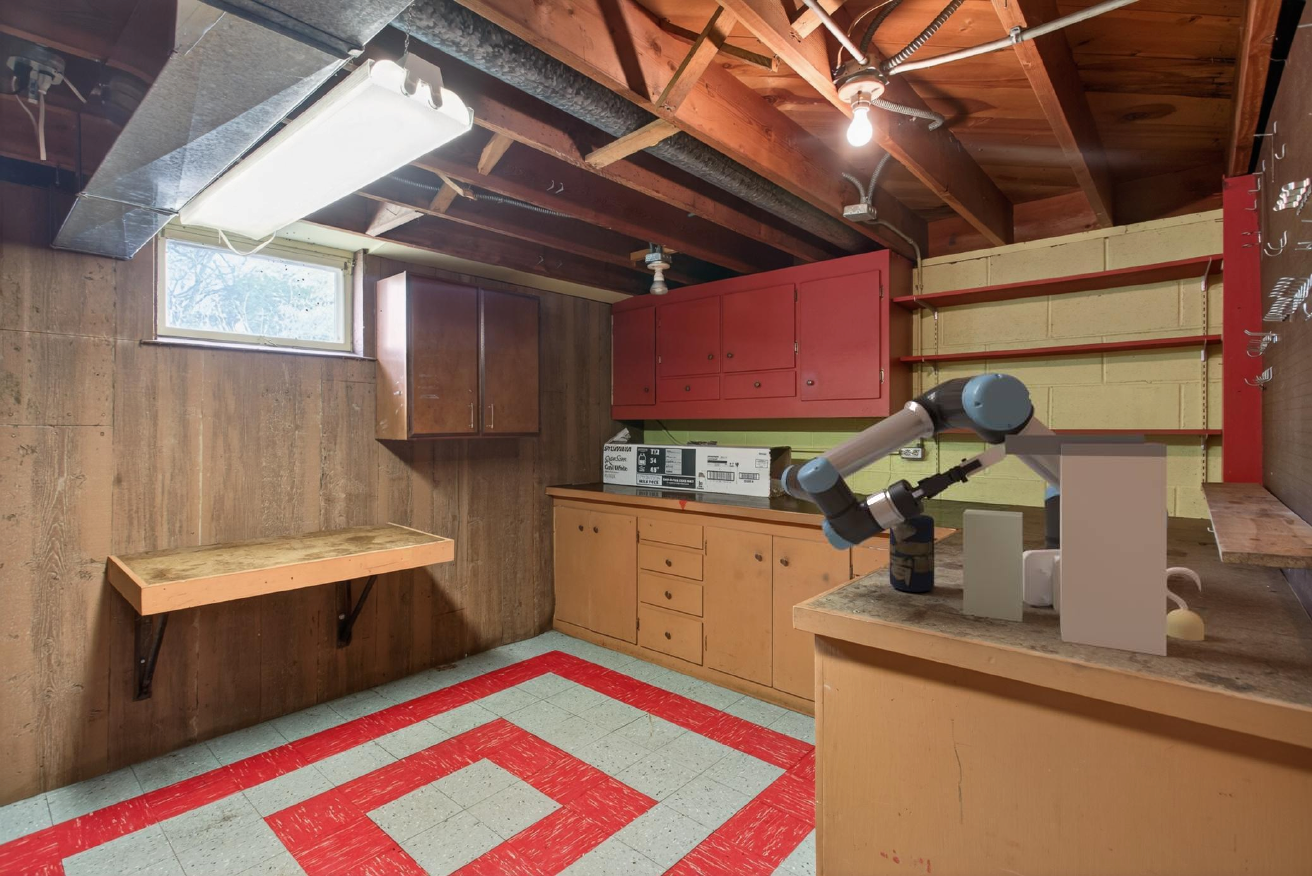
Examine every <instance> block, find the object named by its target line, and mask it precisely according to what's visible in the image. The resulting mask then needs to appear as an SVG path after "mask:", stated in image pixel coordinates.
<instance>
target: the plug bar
mask: <svg viewBox="0 0 1312 876" xmlns="http://www.w3.org/2000/svg"><path fill="white" fill-rule="evenodd" d="M1145 436H1146V435H1145V434H1056V435H1005V447H1004V449H1005V450H1004V452H1005V454H1006V455H1007V456H1008V455H1013V456H1015V455H1061V444H1145V443H1146V442H1145V441H1146V438H1145Z"/></svg>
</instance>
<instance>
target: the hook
mask: <svg viewBox="0 0 1312 876" xmlns="http://www.w3.org/2000/svg"><path fill="white" fill-rule="evenodd" d="M1173 574H1185V575H1187V576H1189V577H1190V578H1191V579H1192V580H1193V581H1194V582H1195V583H1196V585H1197V586H1198V589H1199V591H1200V592H1202V584H1201V583H1202V582H1201V580H1200V576H1199V575H1198V574H1197V573H1196V572H1195V571H1194V570H1192V569H1190V568H1187V567H1182V566H1181V567H1179V566H1177V567H1170V568H1167V579H1168V578H1169V577H1170V576H1171V575H1173ZM1166 598H1168V599H1170V600H1171V601H1174V602H1175V603H1176V604H1177V605H1178V606H1179V608H1178V609H1173V610H1172V611H1170V612H1169V613H1168V614H1166V636H1169V637H1171V638H1175V639H1180V640H1185V641H1192V642H1193V641H1194V642H1199V641H1204V640H1205V624H1204V621H1203V620H1202V618H1201V617H1200V616H1199V615H1198V614H1197V613H1195V612H1193V611H1191V610H1190V609H1189V606H1188V605H1187V603H1186V601H1185V600H1184V599H1183V598H1181V596H1179V595H1177V594H1175V593H1173V592H1172V591H1170V589H1169V588H1168V580H1167V581H1166Z"/></svg>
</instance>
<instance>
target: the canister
mask: <svg viewBox="0 0 1312 876" xmlns="http://www.w3.org/2000/svg"><path fill="white" fill-rule="evenodd" d="M896 527H897V528H896V529H895V530H892V528H891V527H890V528H889V555H888V556H889V583H890V585H891V586H892V587H893V588H895V589H897V590H900V591H906V592H916V593H917V592H918V593H919V592H921V593H922V592H928V591H932V590H933V589H934V588H935V520H934V518H933V516H930V515H927V514H923V513H921V514H919V515H917V516H915V517H913V518H911V519H905V520H904V522H902V523H900V524H898V525H896Z"/></svg>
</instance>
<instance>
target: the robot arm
mask: <svg viewBox="0 0 1312 876" xmlns="http://www.w3.org/2000/svg"><path fill="white" fill-rule="evenodd" d="M1030 396H1031V395H1030V392H1029V389H1028V388H1027V386H1026V385H1025V384H1024V383H1023V382H1022V381H1021V380H1020V379H1018V378H1017V377H1015V376H1013V375H1011V374H1006V373H996V372H989V373H988V372H987V373H981V374H980V375H979V374H978V375H973V376H972V375H971V376H965V377H956V378H951V379H948V380H945V381H943V382H941V383H939V384H938V385H935V386H933V387H931V388H930V389H929V390H926V391H924V392H923V393H921V394H919V395H917V396H916V397H914V398H913V399H910V400H909V401H907V402H906V403H905V404H904V407H903V409H901V410H900V411H898V412H896V413H894V414H892V415H890V416H888V417H887V418H885V419H883V420H881V421H879V422H878V423H876V424H873V425H872V426H869V427H867V428H866V429H864V430H863V431H861V432H859V433H857V434H855V435H853V436H851V437H849V438H848V439H845V440H844V441H842V442H840V443H839V444H838V443H837V445H834V446H833V447H831V448H830V449H827V450H825V451H824V452H822V453H820V454H818V455H817V456H815V457H813V458H811V459H809V460H807V461H805V462H804V463H801V464H800V463H798V464H794V465H793V464H792V465H790V466H788V467H787V468H785V469H784V471H783V472H782V475H781V480H780V481H781V487H782V489H783V490H784V492H786V494H788V495H790V496H791V497H793V498H795V499H798V500H799V499H800V500H804V501H807V502H811V503H814V504H815V505H816V506H817V508H818V509H819V510H820V511H821V513H822V514H823V515H824V517H825V519H823V520H822V523H821V528H822V532H823V534H824V536H825V537H826V539H827V541H828V543H829V544H830V545H831V546H832V548H835V550H838V551H844V550H847V549H849V548H853V547H855V546H859V545H860V544H861V543H863V542H865V541H867V540H869V539H871V538H873V537H875V536H877V535H880V534H881V533H883V532H886V531H887V530H890V527H891V528H892V530H895V529H896V528H897V527H896V525H898V524H900V523H902V522H904V520H905V519H911V518H913V517H915V516H917V515H919V514H923V513H924V511H925V507H924V504H923V502H922V499H925V498H926V499H927V500H930V499H932V498H935V497H936V496H938V495H939V494H940V493H942V492H944V491H945V490H947V489H949V486H952V485H954V484H955V483H960V482H962V484H965V483H967V482H969V479H968V478H970V477H971V476H973V475H975V474H977V473H979V472H981V471H984V470H985V469H988V468H990V467H992V466H994V465H995V464H998V463H1000V462H1002V461H1003V460H1005V458H1006V457H1008V455H1007V454H1005V450H1004V449H1003V447H1004V448H1005V435H1057V434H1056V433H1055V432H1054V431H1052V429H1050V428H1049V427H1048V426H1047V425H1045V424H1044V423H1043V422H1042V421H1041V420H1039V419H1038V418H1037V417H1036V416H1035V414H1036V408H1035V406H1034V404H1032V399H1031V398H1030ZM954 430H961V431H962V430H971V431H973V432H974V433H975V434H977V435H978V436H979V437H980V438H982V439H983V440H984V441H986V442H987V443H988V444H989V445H990V446H992V447H990V448H989V449H986V450H984V451H983V452H981V453H978V454H977V455H975V456H972V457H970V458H969V459H967V458H966V457H964V458H962V459H961V460H960V461H961V462H960V463H959V464H958V465H955V466H954V467H950V468H949V470H946V471H945V472H943V473H941V472H937V473H935V474H932V475H931V476H926V477H924V478H922V479H920V480H918V481H917V482H916V483H917V486H915V487H914V486H913V485H912V483H910V481H908V479H904V478H901V479H900V480H898V481H895V482H894V483H892V484H891V485H890V484H889V486H888V488H882V489H880V490H878V491H876V492H874V493H873V494H870V495H869V496H867V497H865V498H864V499H861V500H859V499H858V498H857V496H856V495H855V493H854V492H853V491H852V489H851V488H850V487H849V485H848V484H847V483H846V481H845V479H847V478H849V477H850V476H852V475H854V474H856V473H858V472H860V471H862V470H863V469H866V468H867V467H869V466H871V465H873V464H874V463H876V462H878V461H880V460H881V459H885V458H886V457H887V456H889V455H891V454H892V453H895V452H897V451H899V450H900V449H902V448H904V447H905V446H907V445H909V444H911V443H913V442H915V441H917V440H919V439H921V438H923V439H930V438H932V437H933V436H935V435H937V434H940V433H943V432H947V431H954ZM1002 446H1003V447H1002ZM1014 456H1015V457H1016V458H1017V459H1019V460H1020V461H1021V462H1022V463H1023V464H1025V465H1026V466H1027V467H1028V468H1030V470H1032V471H1033V472H1035V473H1036V474H1037V475H1038V476H1039V477H1040V478H1042V480H1045V482H1047V483H1048V485H1049V486H1047V487H1046V489H1045V494H1044V495H1045V496H1044V500H1043V502H1044V546H1043V549H1042V550H1054V549H1060V455H1014ZM1169 523H1170V522H1169V511H1168V509H1167V528H1168V526H1169Z"/></svg>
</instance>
